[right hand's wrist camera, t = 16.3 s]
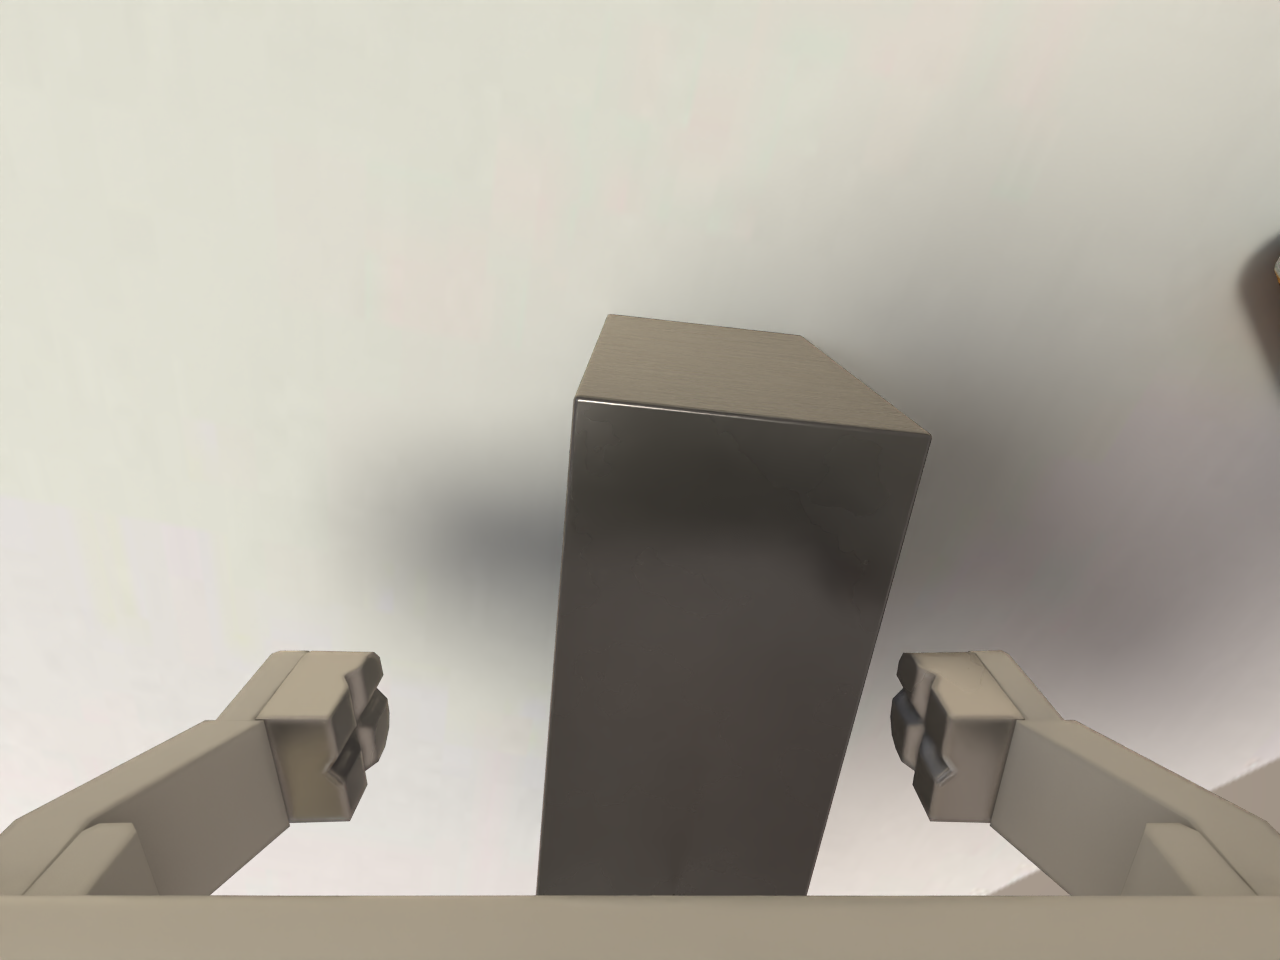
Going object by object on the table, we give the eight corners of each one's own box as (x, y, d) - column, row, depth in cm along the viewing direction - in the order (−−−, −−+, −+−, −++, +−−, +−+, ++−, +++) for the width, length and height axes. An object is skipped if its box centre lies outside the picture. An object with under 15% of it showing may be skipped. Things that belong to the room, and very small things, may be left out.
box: (607, 313, 20) (573, 395, 11) (802, 335, 21) (935, 434, 11) (559, 844, 28) (515, 1162, 19) (702, 856, 28) (730, 1178, 19)
